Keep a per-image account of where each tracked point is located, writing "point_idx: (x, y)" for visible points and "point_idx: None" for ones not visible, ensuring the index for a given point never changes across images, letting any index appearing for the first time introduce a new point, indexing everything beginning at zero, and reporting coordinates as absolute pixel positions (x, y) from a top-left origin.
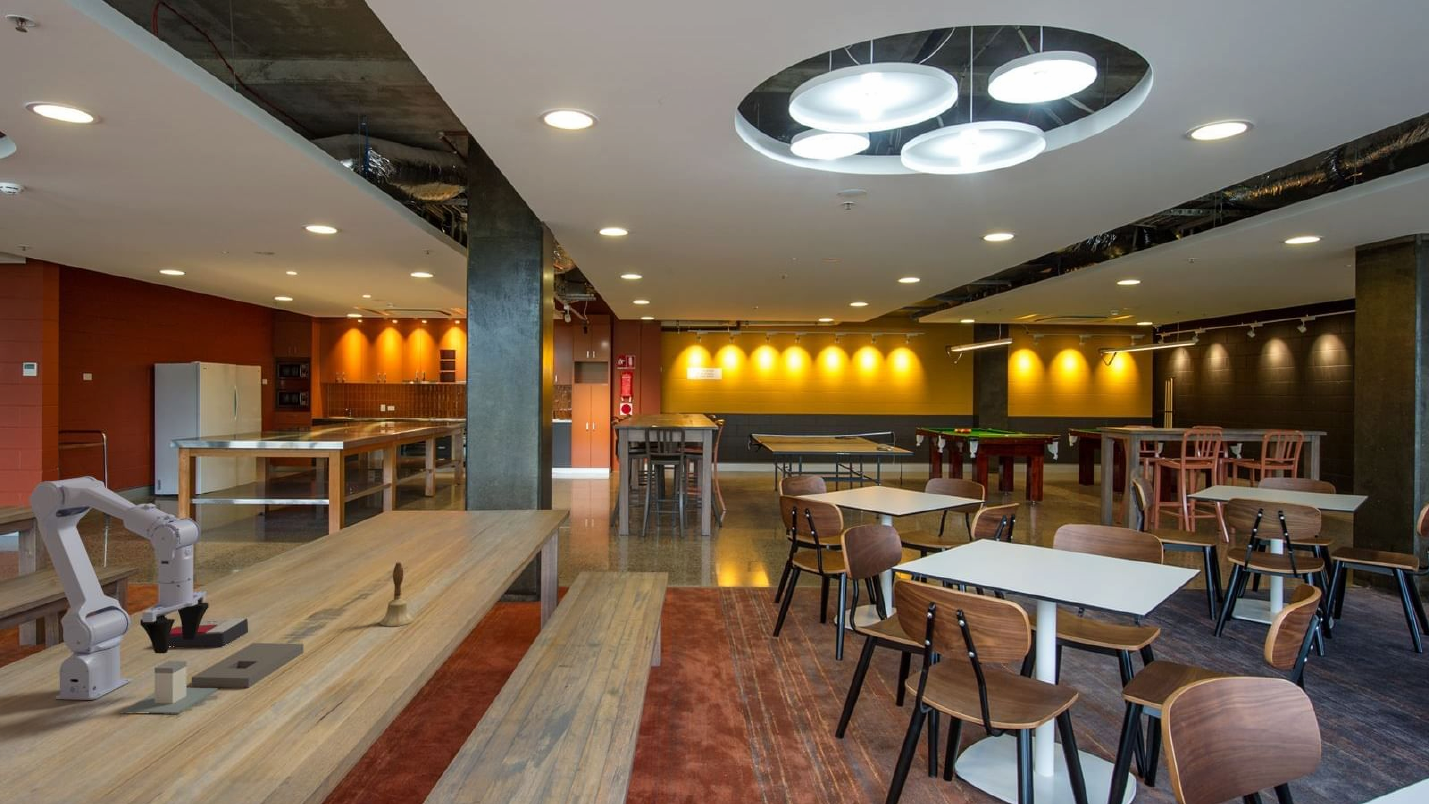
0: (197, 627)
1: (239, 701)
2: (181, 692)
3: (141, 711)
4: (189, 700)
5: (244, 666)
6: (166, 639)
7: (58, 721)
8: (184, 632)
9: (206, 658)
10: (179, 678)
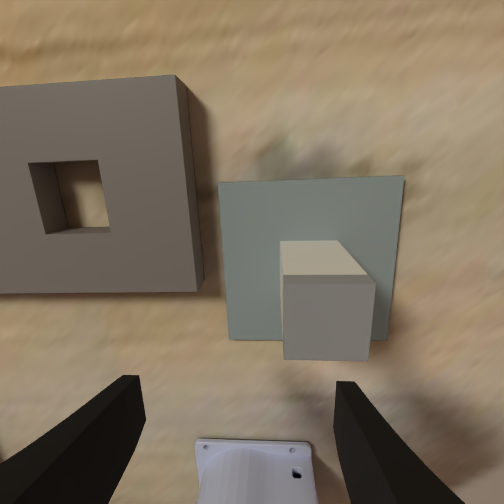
0: (76, 421)
1: (297, 30)
2: (301, 246)
3: (391, 288)
4: (313, 205)
5: (55, 211)
6: (404, 450)
7: (423, 434)
8: (125, 454)
9: (27, 370)
10: (318, 262)
